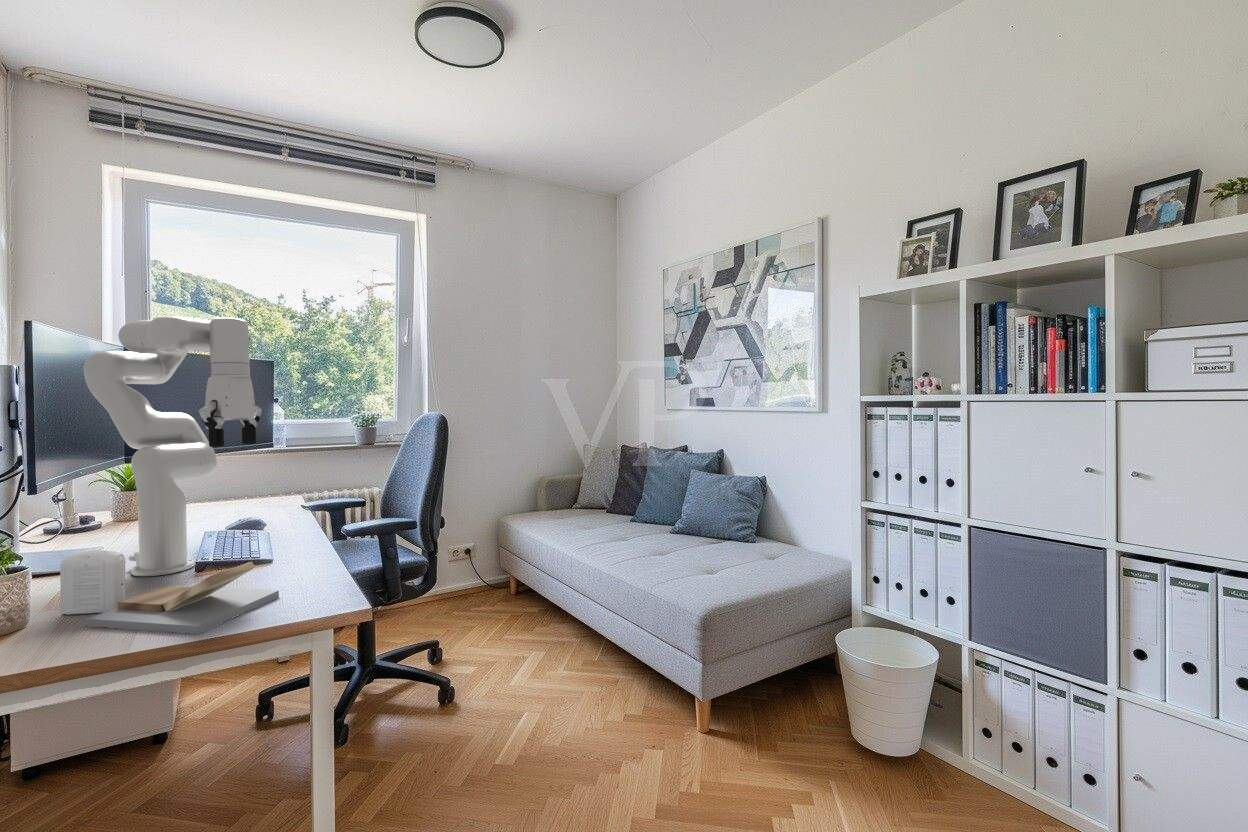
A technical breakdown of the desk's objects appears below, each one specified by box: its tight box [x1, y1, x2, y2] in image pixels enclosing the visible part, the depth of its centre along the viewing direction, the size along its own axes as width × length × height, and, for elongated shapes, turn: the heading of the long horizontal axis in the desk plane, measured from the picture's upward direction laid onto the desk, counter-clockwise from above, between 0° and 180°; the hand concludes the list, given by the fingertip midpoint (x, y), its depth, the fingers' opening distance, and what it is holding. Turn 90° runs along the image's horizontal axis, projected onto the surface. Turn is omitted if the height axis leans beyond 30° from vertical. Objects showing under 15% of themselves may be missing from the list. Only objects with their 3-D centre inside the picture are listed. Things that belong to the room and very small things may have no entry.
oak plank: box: [163, 561, 256, 611], centre depth 116 cm, size 12×10×2 cm
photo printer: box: [59, 549, 127, 615], centre depth 117 cm, size 10×4×12 cm, turn 103°
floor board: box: [85, 584, 280, 635], centre depth 117 cm, size 24×20×2 cm
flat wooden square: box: [118, 585, 191, 612], centre depth 118 cm, size 10×10×2 cm
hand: (233, 445), depth 135 cm, fingers open, 9 cm apart
